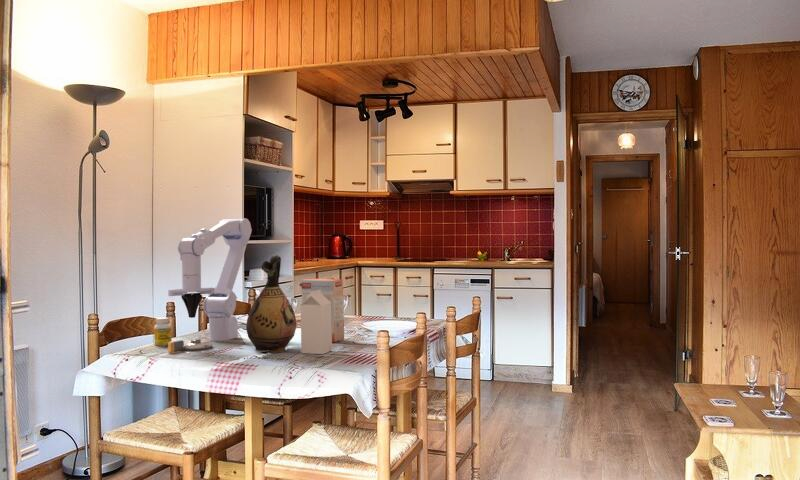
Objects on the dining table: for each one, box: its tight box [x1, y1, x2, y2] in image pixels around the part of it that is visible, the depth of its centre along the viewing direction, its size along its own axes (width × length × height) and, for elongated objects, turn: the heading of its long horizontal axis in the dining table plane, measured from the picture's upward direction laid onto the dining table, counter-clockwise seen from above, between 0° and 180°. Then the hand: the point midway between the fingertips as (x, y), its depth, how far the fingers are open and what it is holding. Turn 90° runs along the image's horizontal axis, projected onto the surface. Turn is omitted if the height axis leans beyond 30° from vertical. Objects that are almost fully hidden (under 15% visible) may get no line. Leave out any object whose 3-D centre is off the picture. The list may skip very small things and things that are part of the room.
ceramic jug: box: [245, 255, 297, 354], centre depth 211 cm, size 17×15×30 cm
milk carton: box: [300, 290, 333, 355], centre depth 207 cm, size 7×7×19 cm
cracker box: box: [301, 278, 345, 343], centre depth 229 cm, size 14×6×21 cm, turn 58°
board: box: [150, 341, 241, 357], centre depth 213 cm, size 20×20×1 cm
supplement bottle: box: [153, 317, 173, 347], centre depth 221 cm, size 5×5×10 cm
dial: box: [167, 338, 213, 352], centre depth 211 cm, size 15×10×3 cm
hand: (192, 317), depth 215 cm, fingers closed
